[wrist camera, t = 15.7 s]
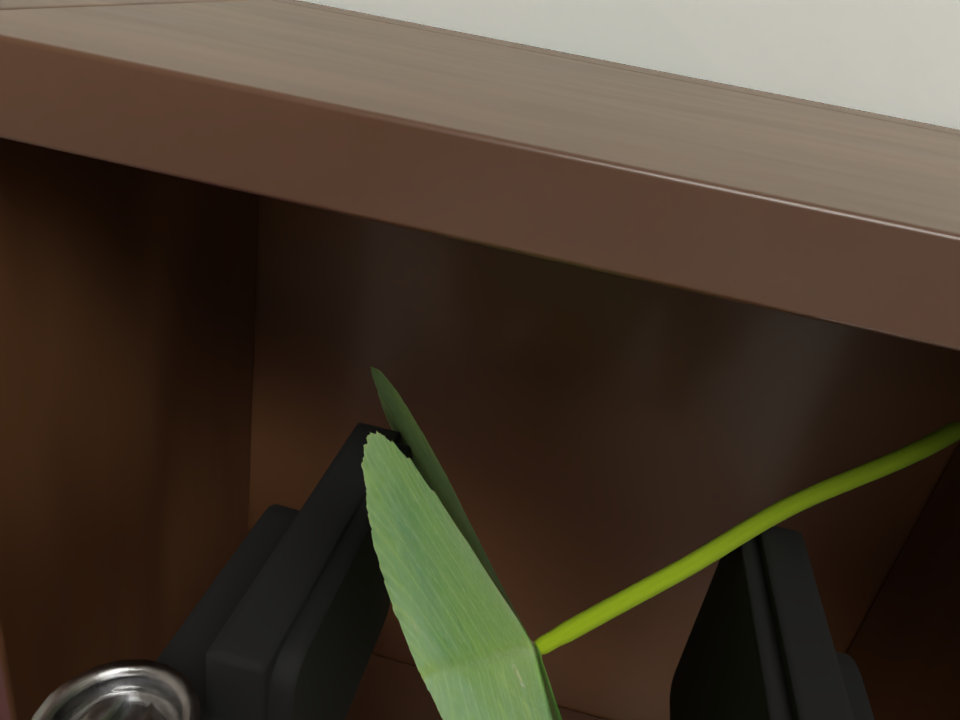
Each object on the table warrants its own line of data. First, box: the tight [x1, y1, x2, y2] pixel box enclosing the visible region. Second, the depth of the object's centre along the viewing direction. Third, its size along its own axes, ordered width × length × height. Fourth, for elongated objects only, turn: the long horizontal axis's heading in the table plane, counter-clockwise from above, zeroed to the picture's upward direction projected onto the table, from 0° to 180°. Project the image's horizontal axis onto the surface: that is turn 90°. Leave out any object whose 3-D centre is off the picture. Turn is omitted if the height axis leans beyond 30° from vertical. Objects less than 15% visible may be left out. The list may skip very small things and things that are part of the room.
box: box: [0, 0, 960, 720], centre depth 12 cm, size 14×14×7 cm
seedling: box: [361, 367, 960, 720], centre depth 9 cm, size 7×8×6 cm
